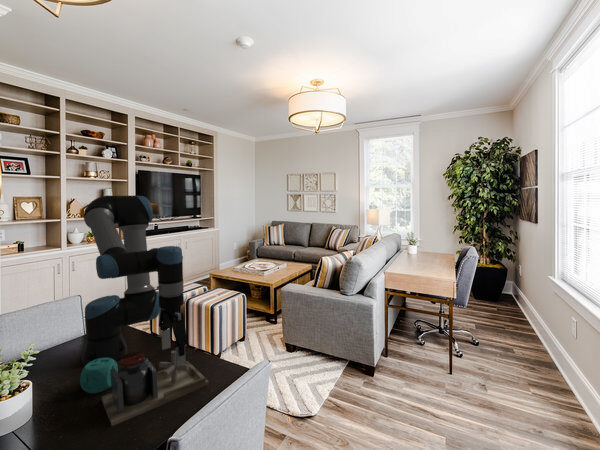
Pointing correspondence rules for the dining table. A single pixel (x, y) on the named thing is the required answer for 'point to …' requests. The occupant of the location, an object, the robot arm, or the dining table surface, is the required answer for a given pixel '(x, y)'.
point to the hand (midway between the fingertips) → (173, 356)
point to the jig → (166, 393)
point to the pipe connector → (172, 367)
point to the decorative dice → (97, 375)
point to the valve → (133, 381)
